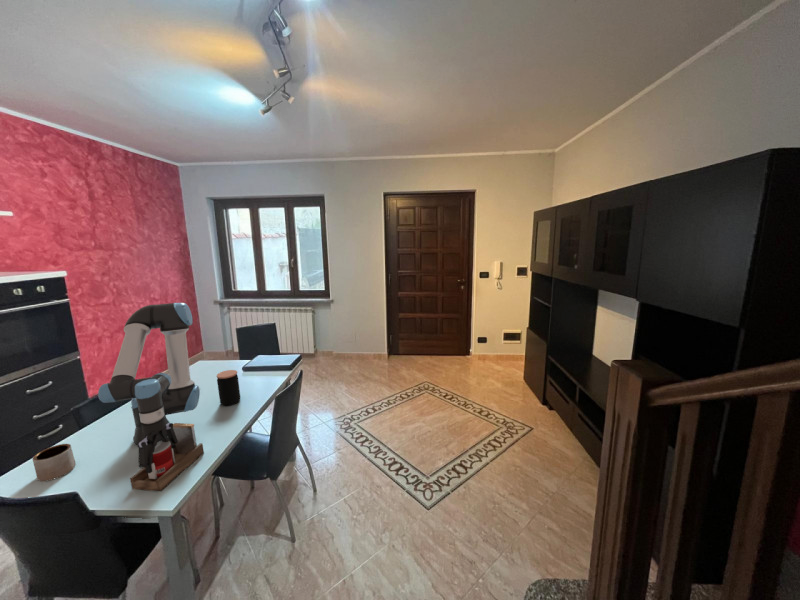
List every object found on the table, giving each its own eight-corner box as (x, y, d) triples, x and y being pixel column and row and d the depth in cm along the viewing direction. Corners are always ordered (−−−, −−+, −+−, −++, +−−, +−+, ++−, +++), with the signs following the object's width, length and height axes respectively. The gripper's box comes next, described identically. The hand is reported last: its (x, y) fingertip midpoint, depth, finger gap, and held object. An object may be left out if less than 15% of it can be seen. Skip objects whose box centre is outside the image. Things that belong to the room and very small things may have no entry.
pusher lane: (132, 489, 119) (130, 478, 119) (179, 451, 141) (177, 441, 140) (161, 491, 118) (159, 480, 117) (203, 453, 139) (202, 443, 138)
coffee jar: (244, 397, 189) (241, 370, 186) (233, 406, 179) (229, 377, 175) (228, 397, 190) (224, 369, 187) (216, 406, 180) (212, 377, 177)
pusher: (176, 453, 138) (171, 425, 135) (179, 451, 139) (174, 422, 137) (195, 455, 137) (190, 426, 134) (198, 452, 138) (193, 424, 136)
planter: (76, 471, 130) (71, 450, 128) (37, 486, 122) (31, 464, 120) (75, 459, 137) (70, 440, 135) (37, 473, 129) (32, 452, 127)
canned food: (179, 465, 128) (175, 441, 126) (159, 479, 121) (155, 454, 119) (165, 462, 130) (160, 438, 128) (145, 476, 123) (140, 451, 121)
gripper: (136, 435, 111) (147, 491, 115) (183, 405, 131) (191, 453, 135) (117, 434, 112) (129, 489, 116) (167, 404, 132) (175, 452, 136)
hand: (162, 470), depth 126 cm, fingers closed on canned food, 8 cm apart
